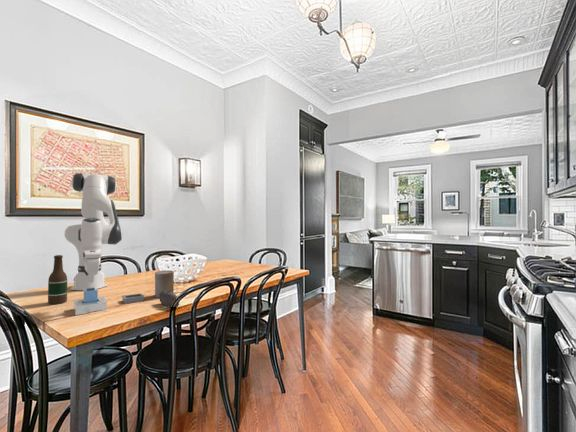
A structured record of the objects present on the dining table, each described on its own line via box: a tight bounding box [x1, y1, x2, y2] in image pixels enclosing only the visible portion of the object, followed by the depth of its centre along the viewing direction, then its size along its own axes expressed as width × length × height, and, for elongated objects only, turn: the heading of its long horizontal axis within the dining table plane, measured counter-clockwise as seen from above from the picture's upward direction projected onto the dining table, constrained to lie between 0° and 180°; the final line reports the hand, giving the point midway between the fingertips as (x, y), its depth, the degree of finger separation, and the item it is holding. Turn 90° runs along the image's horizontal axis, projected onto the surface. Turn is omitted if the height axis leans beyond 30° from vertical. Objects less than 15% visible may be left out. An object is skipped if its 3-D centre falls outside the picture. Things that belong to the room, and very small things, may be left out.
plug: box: [83, 287, 99, 303], centre depth 144 cm, size 4×5×9 cm
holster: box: [122, 293, 145, 305], centre depth 158 cm, size 7×9×3 cm
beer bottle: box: [47, 254, 68, 306], centre depth 155 cm, size 8×8×24 cm
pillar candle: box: [154, 269, 175, 299], centre depth 170 cm, size 10×10×15 cm
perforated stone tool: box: [158, 290, 180, 309], centre depth 151 cm, size 15×5×7 cm, turn 47°
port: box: [73, 296, 108, 316], centre depth 144 cm, size 12×12×4 cm
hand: (90, 281), depth 144 cm, fingers closed
